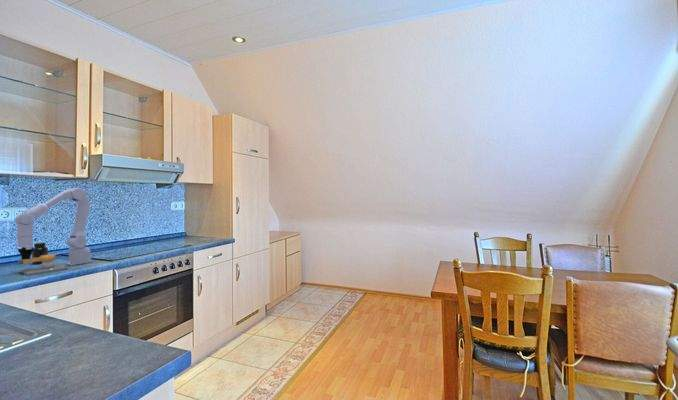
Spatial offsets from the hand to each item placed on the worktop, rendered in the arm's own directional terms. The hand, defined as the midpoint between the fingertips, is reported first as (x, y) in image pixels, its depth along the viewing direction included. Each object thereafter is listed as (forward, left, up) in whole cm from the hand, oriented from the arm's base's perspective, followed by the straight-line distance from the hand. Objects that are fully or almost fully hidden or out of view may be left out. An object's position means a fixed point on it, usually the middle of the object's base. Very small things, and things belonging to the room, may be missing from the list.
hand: (26, 261), depth 161 cm
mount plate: (-6, +5, -5) cm, 9 cm away
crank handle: (-4, +4, 0) cm, 5 cm away
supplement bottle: (-10, -22, -6) cm, 25 cm away
